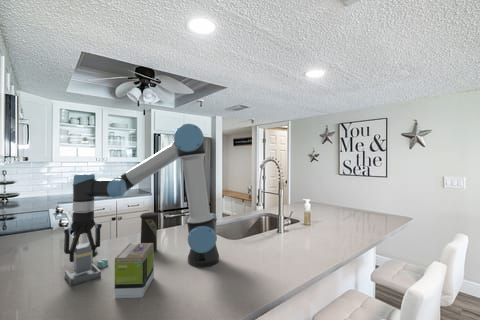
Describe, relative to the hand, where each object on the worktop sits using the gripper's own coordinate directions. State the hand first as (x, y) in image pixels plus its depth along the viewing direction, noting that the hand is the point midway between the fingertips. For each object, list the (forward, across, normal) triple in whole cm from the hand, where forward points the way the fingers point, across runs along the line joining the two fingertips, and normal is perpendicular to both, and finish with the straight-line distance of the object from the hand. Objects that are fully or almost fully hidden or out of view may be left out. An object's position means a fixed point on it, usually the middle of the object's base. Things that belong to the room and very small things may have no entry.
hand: (82, 266), depth 101 cm
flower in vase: (+4, -7, -25) cm, 27 cm away
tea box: (+4, -12, +24) cm, 27 cm away
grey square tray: (+4, 0, +1) cm, 4 cm away
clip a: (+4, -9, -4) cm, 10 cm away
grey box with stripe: (+1, 0, 0) cm, 1 cm away
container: (+4, -32, -8) cm, 34 cm away
